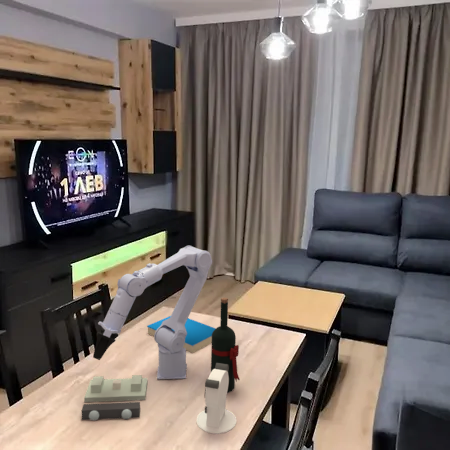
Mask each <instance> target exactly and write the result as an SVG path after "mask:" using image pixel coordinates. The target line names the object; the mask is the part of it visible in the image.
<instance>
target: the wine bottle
mask: <svg viewBox="0 0 450 450" xmlns="http://www.w3.org/2000/svg"><path fill="white" fill-rule="evenodd" d="M228 301H229V298H228V297H222V298H220V322H219V323H220V325H219V326H217V327H216V329H215V330H214V331H213V333H212V343H211V350H210V351H211V353H210V354H211V356H210V373H211V372H212V370H213V369H215V365H216V363H221V364H227V365H229V370H228V376H229V384H228V391H227V394H228V393H231V392H233V391H234V389H235V388H236V387H235V386H236V383H237V380H239V381H240V377H239V373H238V365H237V363H238V362H237V357H238V356H239V354H240V353H239V349H240V348H239V347H240V346H239V344H236V341H237V340H236V339H237V338H236V333H235V331H234V330H233V328H231V327H230V326H228V319H229V317H228V316H229V315H228V312H229V302H228Z"/></svg>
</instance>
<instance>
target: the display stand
mask: <svg viewBox="0 0 450 450" xmlns="http://www.w3.org/2000/svg"><path fill="white" fill-rule="evenodd" d="M147 389H148V377H143V375H142V374H137V375H136V374H135V375H132V376H131V378H129V377H128V378H105V379H104V375H103V376H102V375H101V376H100V375H99V376H93V377H92V379H90V380H89V384H88V386H87V389H86V392H85V394H84V398H83V400H84V403H101V402H103V403H104V402H105V403H106V402H123V401H124V402H125V401H127V402H128V401H132V402H133V401H146V397H147V396H146V395H147Z"/></svg>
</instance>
